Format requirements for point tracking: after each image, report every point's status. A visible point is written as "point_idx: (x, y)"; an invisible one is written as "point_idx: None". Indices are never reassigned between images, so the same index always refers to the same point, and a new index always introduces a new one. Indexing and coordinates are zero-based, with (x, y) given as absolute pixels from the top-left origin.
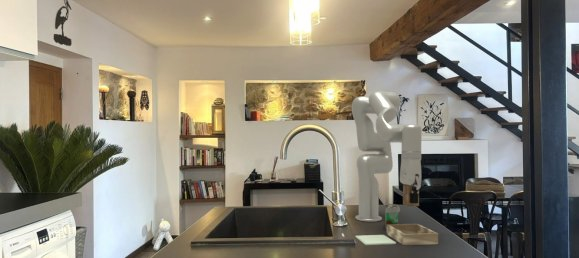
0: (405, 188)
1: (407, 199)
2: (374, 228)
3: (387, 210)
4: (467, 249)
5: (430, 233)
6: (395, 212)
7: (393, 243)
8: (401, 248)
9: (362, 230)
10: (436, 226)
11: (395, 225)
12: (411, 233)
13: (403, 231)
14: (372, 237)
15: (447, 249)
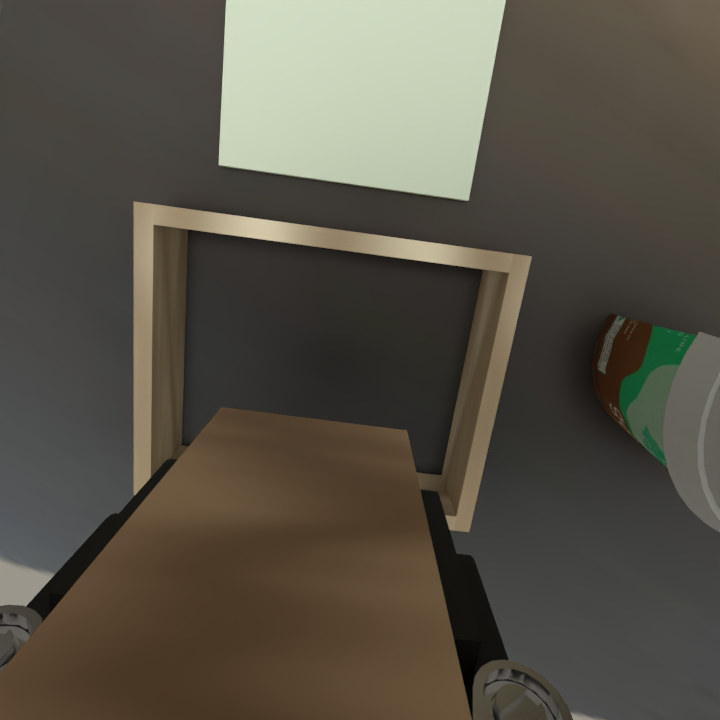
0: (261, 682)
1: (204, 462)
2: (716, 259)
3: (715, 353)
4: (32, 543)
5: (141, 441)
6: (663, 438)
7: (221, 143)
8: (98, 139)
9: (705, 111)
10: (572, 693)
11: (494, 332)
12: (449, 440)
13: (466, 387)
14: (417, 44)
15: (42, 437)
